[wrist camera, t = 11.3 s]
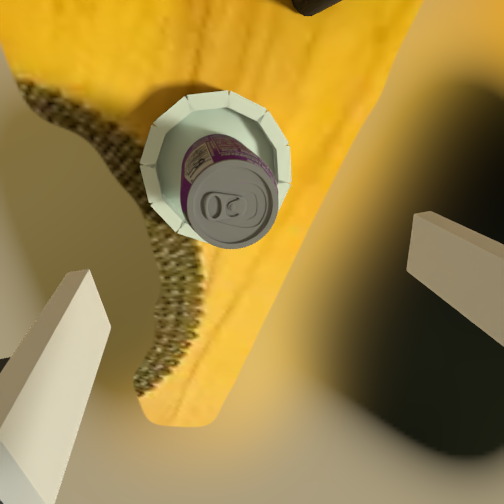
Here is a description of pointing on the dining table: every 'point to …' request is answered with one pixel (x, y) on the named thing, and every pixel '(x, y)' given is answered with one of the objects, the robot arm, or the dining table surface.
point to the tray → (197, 126)
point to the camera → (312, 6)
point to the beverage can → (227, 192)
